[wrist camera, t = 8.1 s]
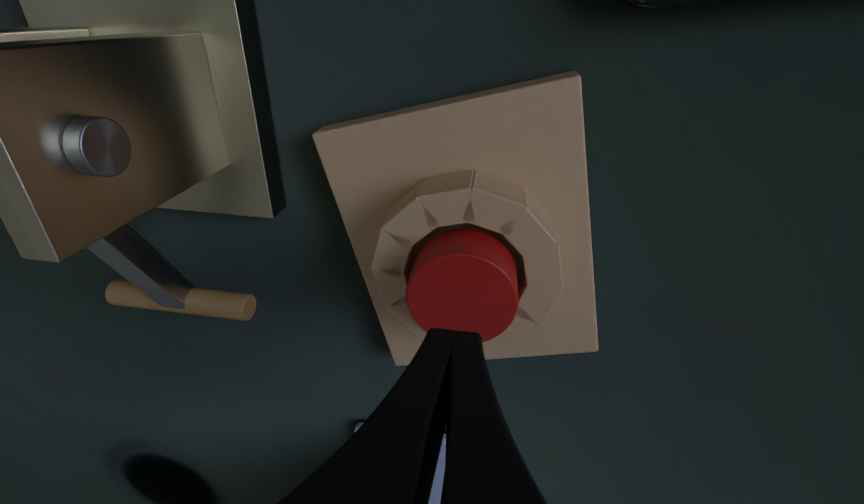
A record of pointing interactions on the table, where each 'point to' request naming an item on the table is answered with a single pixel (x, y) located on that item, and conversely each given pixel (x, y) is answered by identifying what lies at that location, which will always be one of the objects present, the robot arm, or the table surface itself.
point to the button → (464, 284)
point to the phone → (667, 2)
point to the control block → (474, 204)
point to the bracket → (131, 118)
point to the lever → (161, 281)
